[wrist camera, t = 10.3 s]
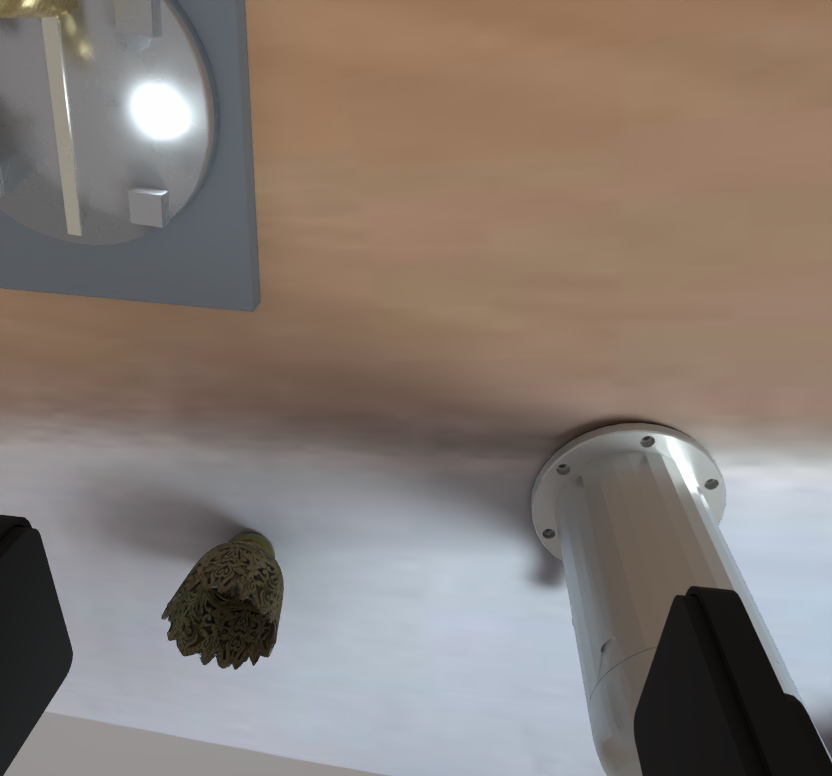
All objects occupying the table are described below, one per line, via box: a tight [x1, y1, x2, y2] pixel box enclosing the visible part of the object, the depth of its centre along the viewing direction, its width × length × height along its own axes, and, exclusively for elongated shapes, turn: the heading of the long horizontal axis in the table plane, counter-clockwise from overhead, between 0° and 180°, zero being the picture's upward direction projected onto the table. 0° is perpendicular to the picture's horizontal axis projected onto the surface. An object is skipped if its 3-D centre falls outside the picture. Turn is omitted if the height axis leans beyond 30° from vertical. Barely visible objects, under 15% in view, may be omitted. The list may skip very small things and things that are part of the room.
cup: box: [162, 533, 284, 670], centre depth 46 cm, size 8×7×8 cm
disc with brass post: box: [0, 0, 220, 245], centre depth 29 cm, size 14×14×9 cm
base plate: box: [0, 0, 260, 312], centre depth 34 cm, size 22×16×2 cm
